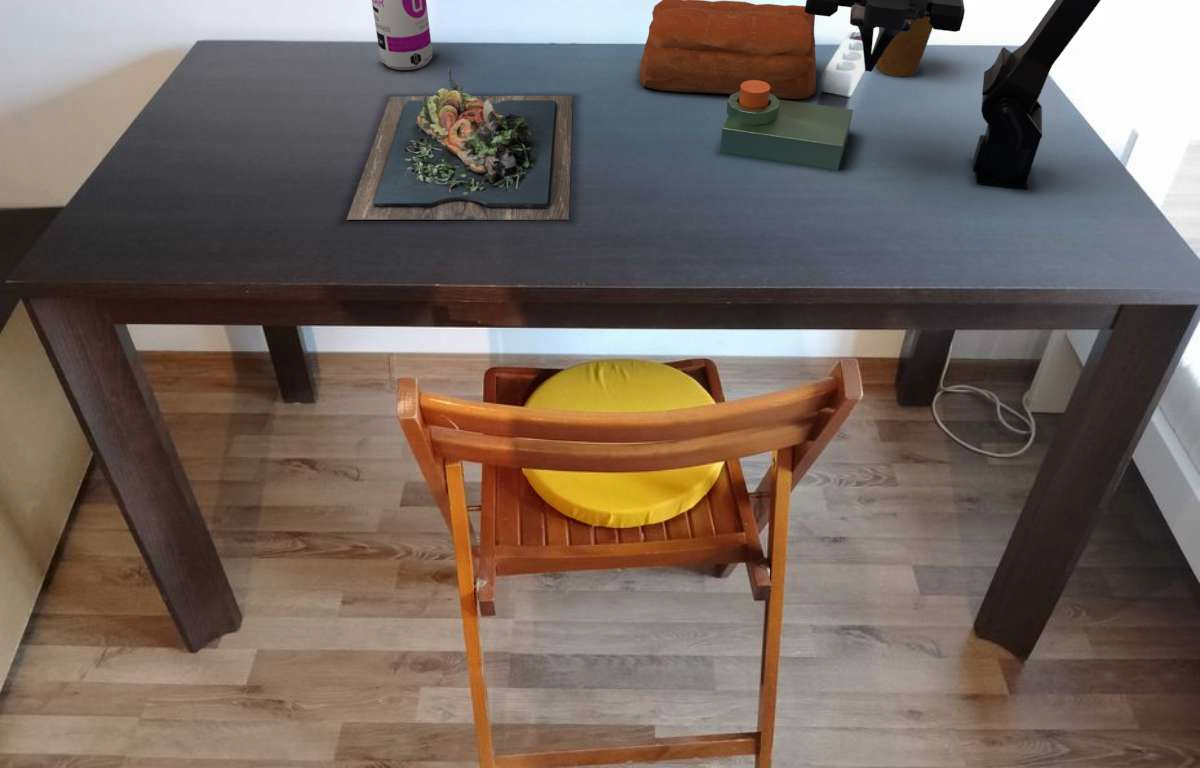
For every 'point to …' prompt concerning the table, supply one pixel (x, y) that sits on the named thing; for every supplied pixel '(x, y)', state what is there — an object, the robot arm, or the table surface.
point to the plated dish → (469, 159)
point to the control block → (787, 132)
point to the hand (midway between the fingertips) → (868, 70)
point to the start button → (754, 94)
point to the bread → (730, 48)
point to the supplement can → (403, 33)
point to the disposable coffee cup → (906, 50)
